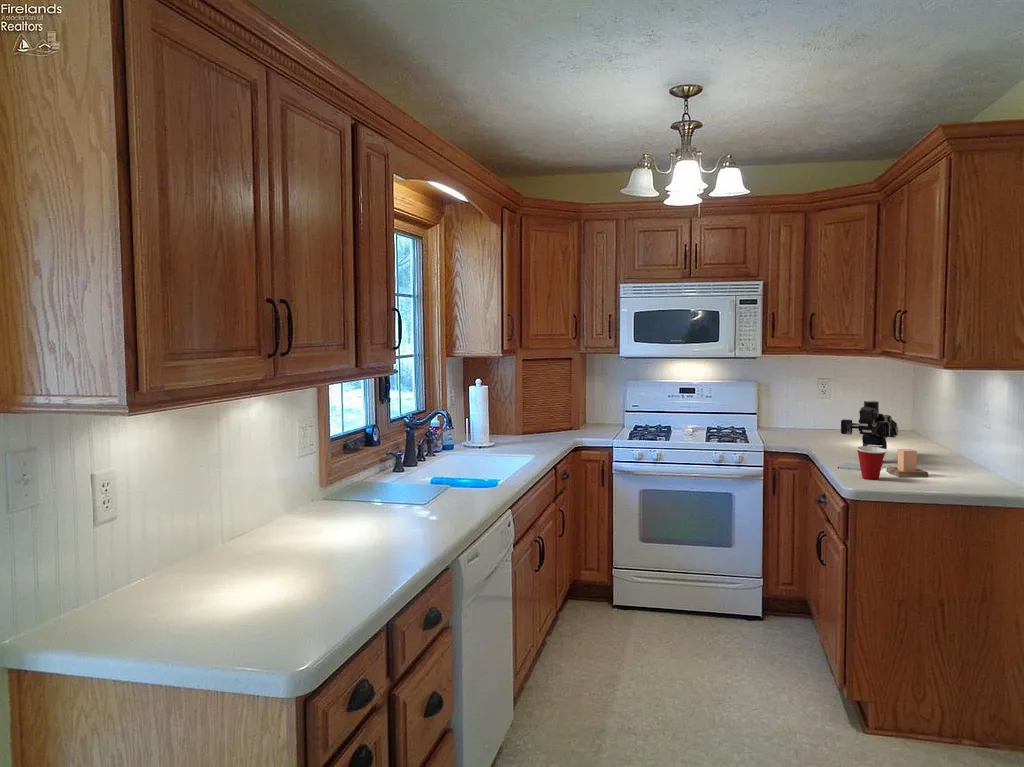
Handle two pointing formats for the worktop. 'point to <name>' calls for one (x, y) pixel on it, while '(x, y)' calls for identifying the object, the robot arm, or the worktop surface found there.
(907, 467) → the terracotta block
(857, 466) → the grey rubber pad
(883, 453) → the plastic cup
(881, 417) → the robot arm
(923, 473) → the walnut well board
